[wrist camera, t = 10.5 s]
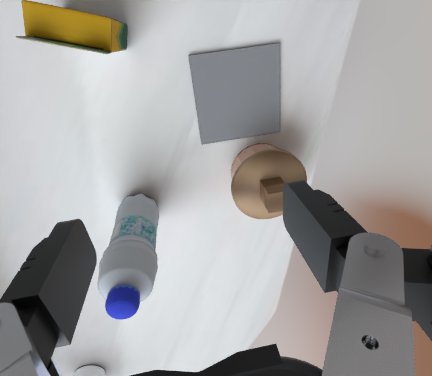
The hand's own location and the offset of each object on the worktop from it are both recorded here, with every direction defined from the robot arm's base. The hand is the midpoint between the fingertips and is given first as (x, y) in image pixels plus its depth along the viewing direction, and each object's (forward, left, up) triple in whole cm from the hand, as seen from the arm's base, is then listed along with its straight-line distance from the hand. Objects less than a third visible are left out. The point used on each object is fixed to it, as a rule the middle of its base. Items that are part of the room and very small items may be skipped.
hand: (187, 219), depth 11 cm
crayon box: (-8, -8, -30) cm, 32 cm away
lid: (+14, +11, -25) cm, 31 cm away
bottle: (+17, -9, -30) cm, 36 cm away
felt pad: (+2, +9, -30) cm, 31 cm away
